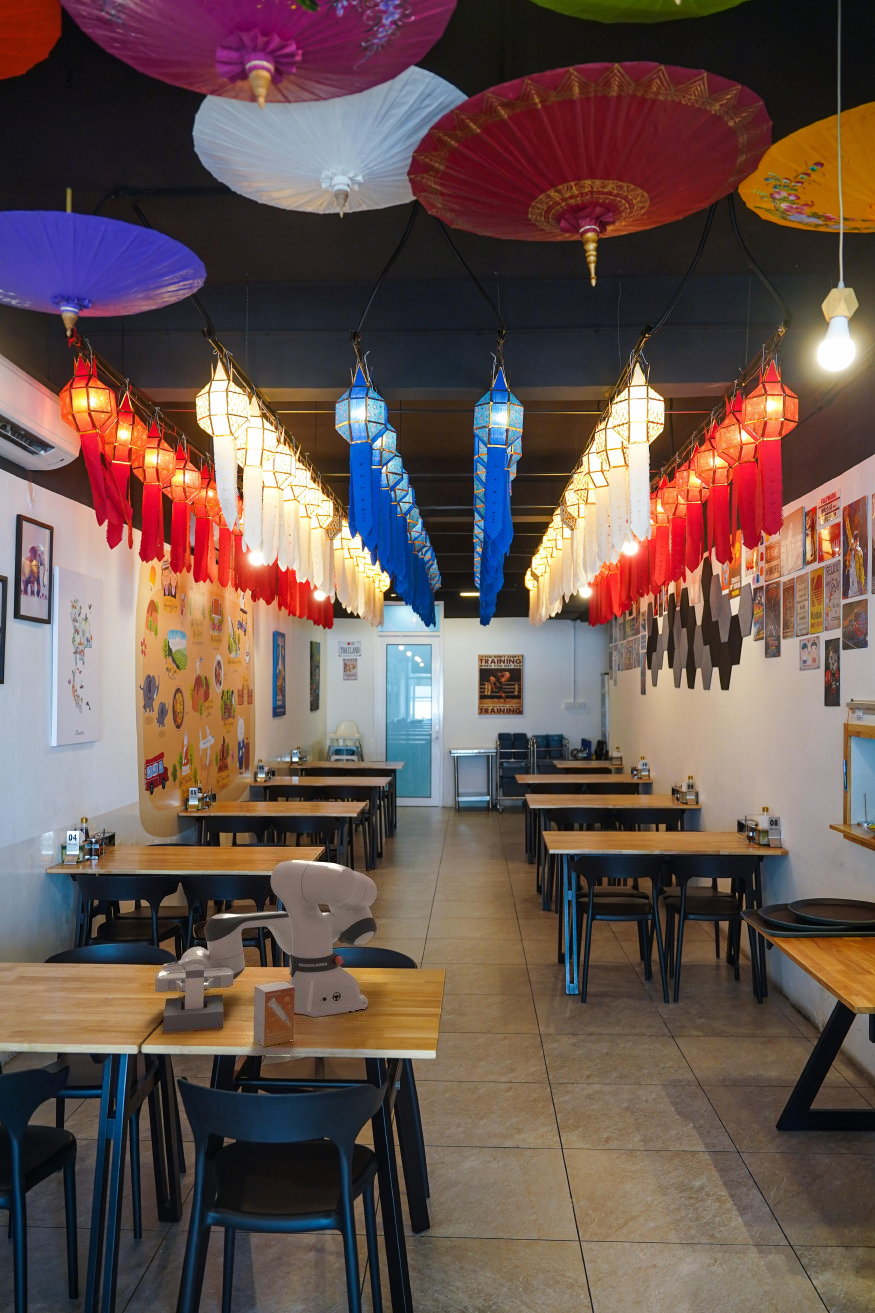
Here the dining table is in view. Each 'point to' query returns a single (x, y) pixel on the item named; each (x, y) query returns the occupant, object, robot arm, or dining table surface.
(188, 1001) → the plug
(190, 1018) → the socket block
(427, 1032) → the dining table surface
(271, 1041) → the small box
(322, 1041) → the dining table surface
